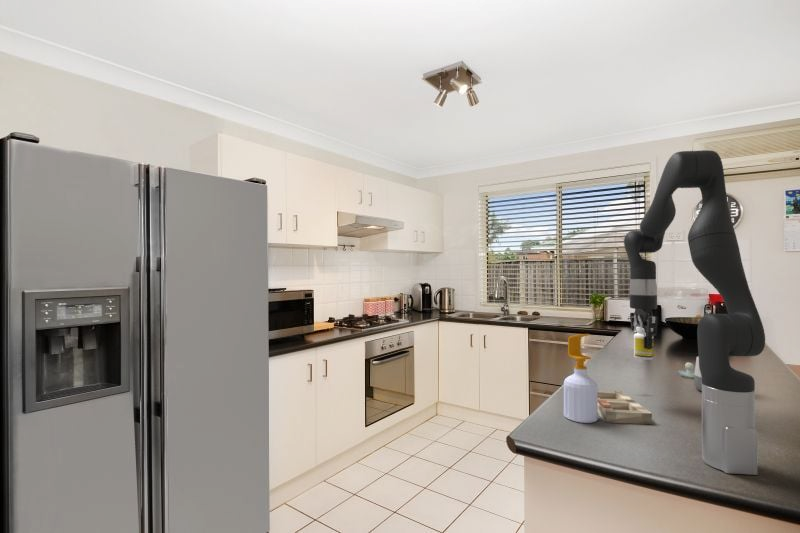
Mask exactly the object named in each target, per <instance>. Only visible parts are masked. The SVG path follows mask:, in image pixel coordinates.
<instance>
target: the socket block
mask: <svg viewBox="0 0 800 533" xmlns="http://www.w3.org/2000/svg"><path fill="white" fill-rule="evenodd" d="M598 415H599V416H600V418H602V419H603V420H604V422H606V423H610V424H611V423H614V424H637V425H638V424H639V425H641V424H643V425H652V424H653V413H652V412H650V411H649V410H648V409H646V408H645V407H644V406H643V405H640V404H639V403H638V402H637V401H635V400H633V398H632V397H630V396H628V395H627V394H625V393H624V392H622V391H620V390H619V391H618V390H598Z"/></svg>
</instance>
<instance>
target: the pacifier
mask: <svg viewBox="0 0 800 533" xmlns="http://www.w3.org/2000/svg"><path fill="white" fill-rule="evenodd" d="M684 367H685V368H684V369H686V371H683V370H678V373H679V374H680V376H682V377H683V378H686V379H691V378H692V379H693V380H694V372H693V370H695V365H694V364H693V363H692V362H686V363H685V364H684Z"/></svg>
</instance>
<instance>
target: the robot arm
mask: <svg viewBox="0 0 800 533" xmlns="http://www.w3.org/2000/svg"><path fill="white" fill-rule="evenodd" d="M725 180H726V179H725V172H724V165H723V162H722V159H721V156H720V155H719V153H718V152H716V151H714V150H703V149H702V150H683V151H677V152H675V153H673V154H672V155H671V156H670V157H669V159H668V160H667V162H666V164H665V166H664V168H663V172H662V174H661V177H660V180H659V182H658V185H657V187H656V191H655V193H654V197H653V199H652V201H651V203H650V206H649V208H648V210H647V211H646V213H645V214H644V217H643V218H642V220H641V222H640V224H639V230H629V231H628V232H626V235H625V236H624V239H623V245H624V249H625V252H626V255H627V258H628V262H629V266H630V270H629V271H630V282H629V308H631V309H634V312H630V313H629V318H630V328H631V332H633V333H634V334H636V333H637V330H636V327H639V326H640V327H641V329H642V330H643V334H644V348H645V349H652V337H653V338H654V336H657V334H658V326H659V324H658V323H659V317H658V316H655V315H654V314H653V311H652V310H656V309H658V285H657V265H656V262H655V261H653V260H649V259H645V258H643V257H642V255H641V254H646V253H647V254H652V253H657V252H659V250H661V249H662V247H663V244H664V243H663V242H664V237H665V235H666V234H665V233H666V231H667V230H668V228H669V227H670V225H671V224H672V223H673V221H674V219H675V217H676V214H677V213H676V211H677V210H676V204H675V202H674V200H673V194H674V192H676V190H677V189H697V188H698V189H699V190H700V193H701V201H702V202H701V203H702V204H701V207H700V209H699V212H698V214H697V216H696V217H695V220H694V221H693V223H692V225H691V227H690V228H689V231H688V235H687V243H688V246H689V253H690V257H691V260H692V263H693V265H694V267H695V269H697V271H698V272H699V273H700V274H701V276H703V277H704V278H705V280H707V282H709V284H711V285H712V287H714V289H715V290H716V291H717V293H719V295H720V297H721V298H722V300H723V302H724V306H725V308H726V311H727V313H707V314H705V315H703V316H702V317H701V318H700V319H699V321H698V324H697V330H696V334H697V335H696V337H697V339H696V340H697V352H698V357H699V368H700V372H701V376H702V392H701V459H702V461H703V462H704V463H705V464H706V465H708V466H710V467H712V468H715V469H717V470H719V471H720V470H721V471H723V472H724V473H725V474H734V475H735V474H737V475H754V476H755V475H756V476H757V475H758V472H759V470H758V429H756V428H755V427H756V426H755V424H756V421H755V416H756V415H755V413H756V412H755V411H756V410H755V409H756V406H755V405H756V404H755V403H756V401H755V400H756V399H755V397H756V390H755V388H756V386H755V382H756V381H755V379H754V377H753V376H752V375H751V374H748V373H746V372H743V371H740V370H737V369H735V368H733V367H732V366H731V364H730V357H756V356H759V355H760V354H762V352H763V351H764V349H765V346H766V333H765V329H764V325H763V322H762V319H761V317H760V314H759V310H758V308H757V306H756V304H755V300H754V298H753V295H752V293H751V290H750V287H749V284H748V283H749V282H748V281H747V277H746V272H745V269H744V265H743V261H742V256H741V253H740V252H741V251H740V246H739V242H738V239H737V234H736V231H735V228H734V225H733V221H732V217H731V212H730V208H729V207H730V206H729V202H728V197H727V189H726V181H725ZM646 330H647V331H646Z"/></svg>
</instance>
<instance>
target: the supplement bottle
mask: <svg viewBox="0 0 800 533" xmlns="http://www.w3.org/2000/svg"><path fill="white" fill-rule="evenodd" d="M636 330H637V333H636V334H635V333H634V334H633V358H635V359H638V360H645V361H646V360H649V361H651V360H653V359H654V336H653V337H652V349H645V348H644V334H643V330H642V329H641V327H640V326H639V327H636ZM646 331H647V330H646Z"/></svg>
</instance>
